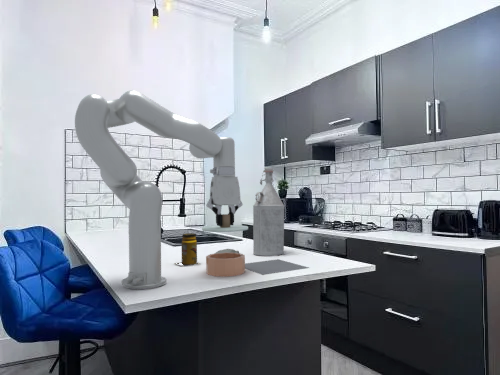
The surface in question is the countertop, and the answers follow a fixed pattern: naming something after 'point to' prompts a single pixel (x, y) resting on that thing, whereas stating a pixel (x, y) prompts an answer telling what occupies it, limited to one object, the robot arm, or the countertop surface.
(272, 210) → the swing top bottle
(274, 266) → the mat
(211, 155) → the robot arm
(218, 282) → the countertop surface
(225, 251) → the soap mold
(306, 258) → the countertop surface
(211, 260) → the bowl
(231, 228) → the lid
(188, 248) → the condiment
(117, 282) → the countertop surface
